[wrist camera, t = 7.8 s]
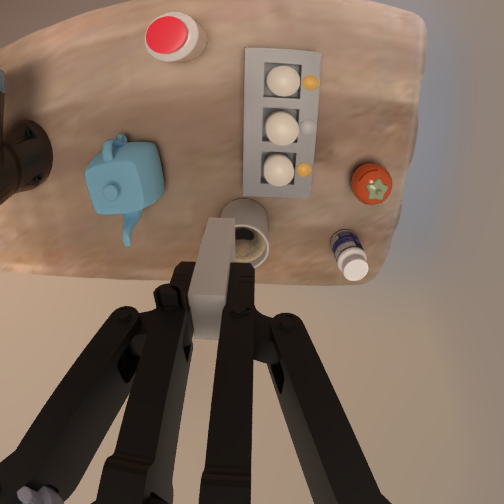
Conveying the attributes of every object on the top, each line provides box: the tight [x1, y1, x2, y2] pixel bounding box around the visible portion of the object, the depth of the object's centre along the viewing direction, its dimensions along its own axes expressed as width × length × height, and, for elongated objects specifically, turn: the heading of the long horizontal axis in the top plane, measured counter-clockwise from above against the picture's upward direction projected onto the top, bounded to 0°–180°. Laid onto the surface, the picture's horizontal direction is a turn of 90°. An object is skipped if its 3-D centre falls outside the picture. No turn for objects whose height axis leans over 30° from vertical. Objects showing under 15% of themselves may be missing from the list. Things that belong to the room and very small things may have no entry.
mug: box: [201, 199, 269, 268], centre depth 54 cm, size 11×10×10 cm
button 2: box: [266, 66, 300, 97], centre depth 40 cm, size 5×5×4 cm
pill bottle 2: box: [331, 230, 368, 281], centre depth 57 cm, size 6×6×10 cm
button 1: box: [263, 152, 294, 186], centre depth 48 cm, size 5×5×4 cm
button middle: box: [265, 111, 299, 146], centre depth 42 cm, size 5×5×4 cm
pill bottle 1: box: [144, 12, 208, 62], centre depth 36 cm, size 8×8×11 cm
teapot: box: [85, 134, 165, 247], centre depth 49 cm, size 12×18×12 cm
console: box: [243, 48, 322, 199], centre depth 46 cm, size 11×24×5 cm, turn 179°
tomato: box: [351, 163, 392, 205], centre depth 50 cm, size 7×7×8 cm
